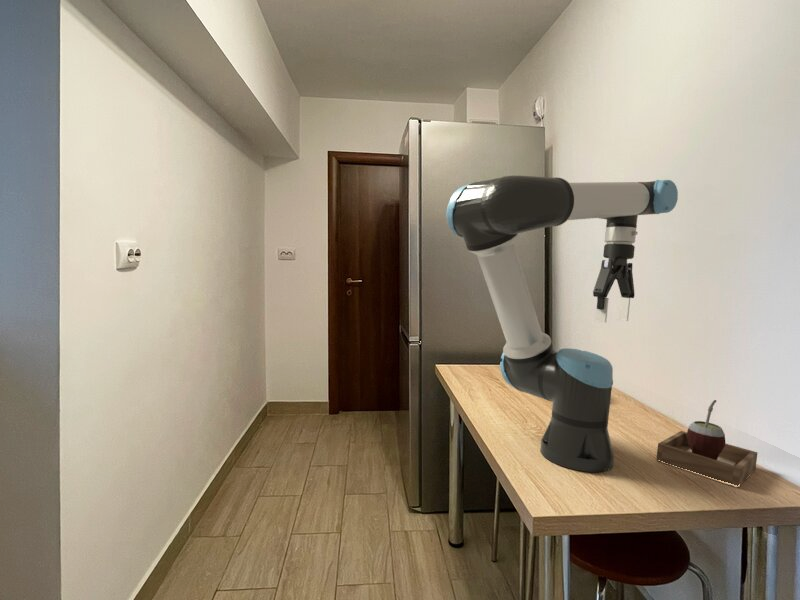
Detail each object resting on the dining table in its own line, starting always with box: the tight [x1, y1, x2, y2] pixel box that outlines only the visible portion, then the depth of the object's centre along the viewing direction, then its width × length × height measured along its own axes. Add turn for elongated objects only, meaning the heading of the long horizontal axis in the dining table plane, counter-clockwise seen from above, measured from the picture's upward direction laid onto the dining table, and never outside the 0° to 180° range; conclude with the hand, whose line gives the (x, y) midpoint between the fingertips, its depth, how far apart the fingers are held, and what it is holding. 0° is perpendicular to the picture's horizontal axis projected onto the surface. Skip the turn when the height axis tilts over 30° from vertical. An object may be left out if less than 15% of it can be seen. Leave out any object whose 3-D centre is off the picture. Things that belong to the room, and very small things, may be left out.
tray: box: [655, 430, 758, 486], centre depth 99 cm, size 15×15×4 cm
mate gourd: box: [686, 399, 726, 460], centre depth 98 cm, size 8×8×15 cm
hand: (611, 321), depth 123 cm, fingers open, 13 cm apart
